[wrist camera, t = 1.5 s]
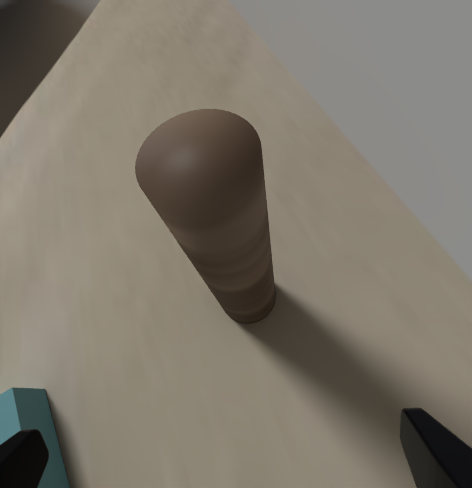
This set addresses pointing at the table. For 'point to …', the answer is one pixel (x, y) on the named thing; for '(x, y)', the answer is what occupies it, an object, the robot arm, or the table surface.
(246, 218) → the peg
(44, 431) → the holder block
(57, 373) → the table surface
